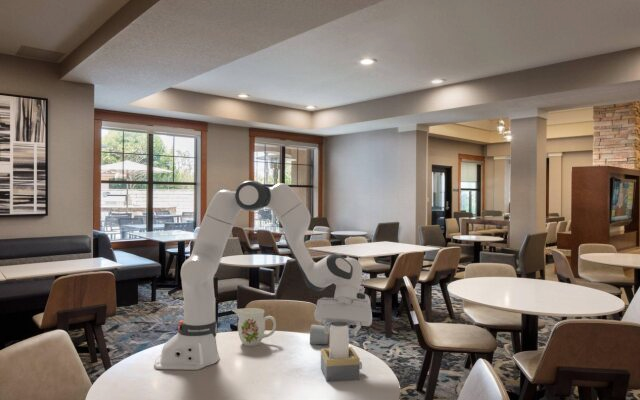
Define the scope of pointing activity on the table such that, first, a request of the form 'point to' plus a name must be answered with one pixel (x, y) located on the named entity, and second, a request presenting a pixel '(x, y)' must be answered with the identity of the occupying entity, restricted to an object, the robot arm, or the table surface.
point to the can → (339, 340)
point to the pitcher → (252, 325)
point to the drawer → (340, 366)
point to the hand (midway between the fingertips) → (339, 334)
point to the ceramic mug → (319, 335)
